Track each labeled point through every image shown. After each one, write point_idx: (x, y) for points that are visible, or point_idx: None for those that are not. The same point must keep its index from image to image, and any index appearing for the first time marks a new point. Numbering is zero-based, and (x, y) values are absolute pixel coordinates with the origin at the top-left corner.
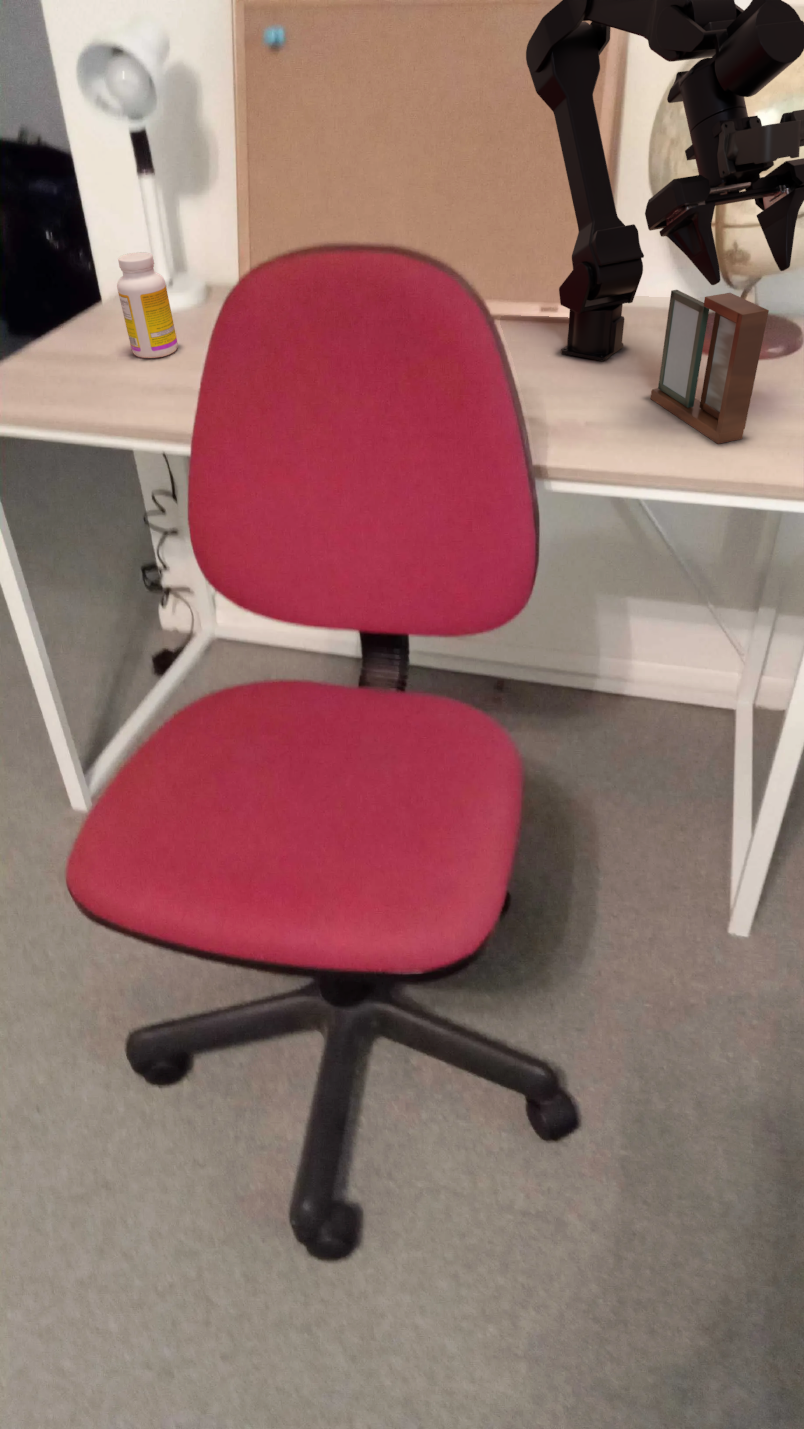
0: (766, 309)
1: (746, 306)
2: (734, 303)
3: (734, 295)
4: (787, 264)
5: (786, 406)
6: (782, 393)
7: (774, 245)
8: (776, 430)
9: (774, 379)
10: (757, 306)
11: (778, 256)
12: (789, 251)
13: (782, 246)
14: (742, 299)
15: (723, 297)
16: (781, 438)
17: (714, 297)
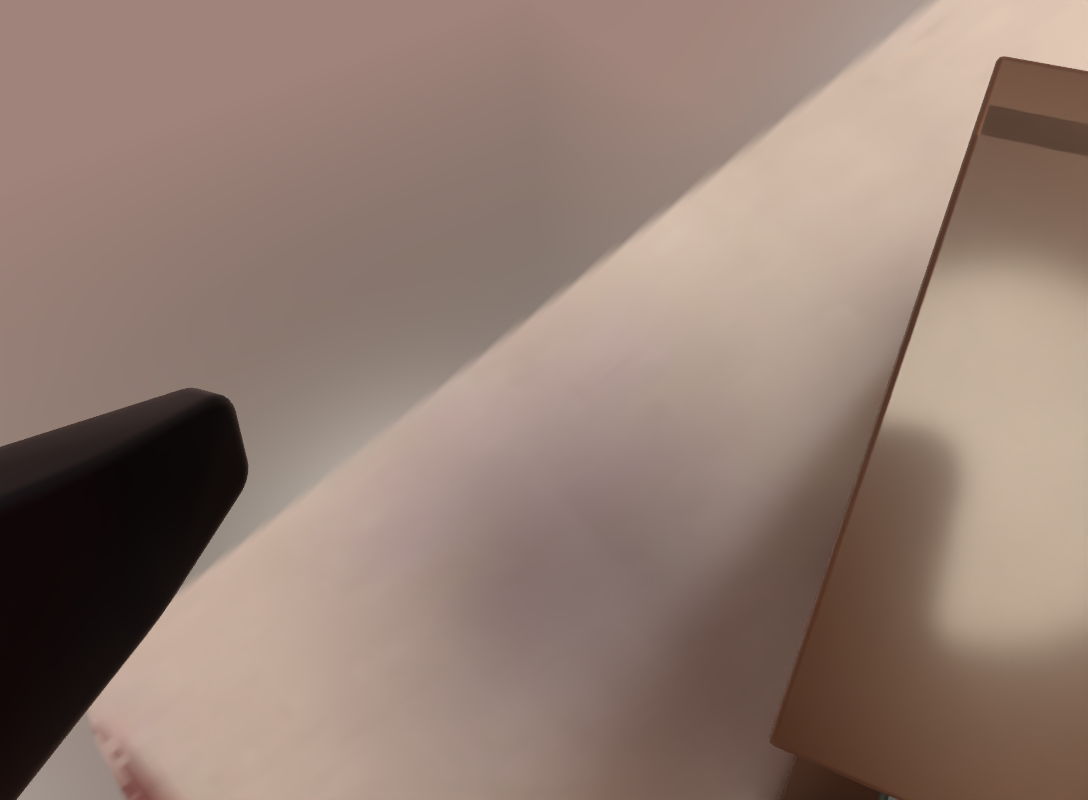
0: (1002, 84)
1: (1077, 304)
2: (1085, 472)
3: (828, 645)
4: (202, 403)
5: (486, 384)
6: (382, 486)
7: (20, 702)
8: (742, 241)
9: (282, 606)
10: (976, 225)
11: (136, 568)
12: (63, 445)
13: (39, 555)
14: (884, 496)
15: (977, 703)
16: (802, 166)
17: (1062, 786)
